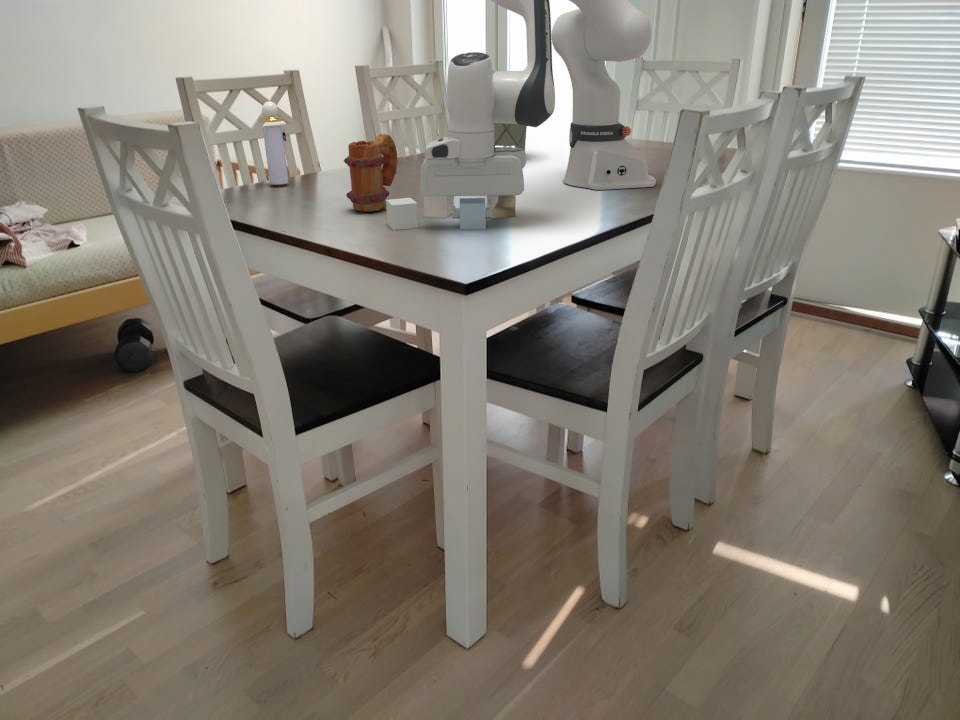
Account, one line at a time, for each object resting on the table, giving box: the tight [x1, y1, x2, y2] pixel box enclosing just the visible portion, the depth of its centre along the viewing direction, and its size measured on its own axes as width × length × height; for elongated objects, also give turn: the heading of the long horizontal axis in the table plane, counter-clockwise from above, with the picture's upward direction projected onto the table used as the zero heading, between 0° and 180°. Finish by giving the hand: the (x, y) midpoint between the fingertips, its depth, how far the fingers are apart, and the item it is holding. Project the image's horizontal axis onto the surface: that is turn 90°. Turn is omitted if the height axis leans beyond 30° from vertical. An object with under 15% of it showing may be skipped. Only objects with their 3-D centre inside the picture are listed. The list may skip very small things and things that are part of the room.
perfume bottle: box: [258, 100, 290, 185], centre depth 179 cm, size 6×6×20 cm
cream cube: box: [422, 195, 455, 219], centre depth 153 cm, size 5×5×5 cm
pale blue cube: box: [459, 197, 487, 231], centre depth 144 cm, size 5×5×5 cm
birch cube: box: [486, 195, 517, 219], centre depth 153 cm, size 5×5×5 cm
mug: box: [343, 133, 398, 213], centre depth 157 cm, size 15×8×15 cm, turn 148°
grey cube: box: [385, 197, 419, 231], centre depth 145 cm, size 5×5×5 cm
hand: (472, 217), depth 145 cm, fingers closed on pale blue cube, 5 cm apart
